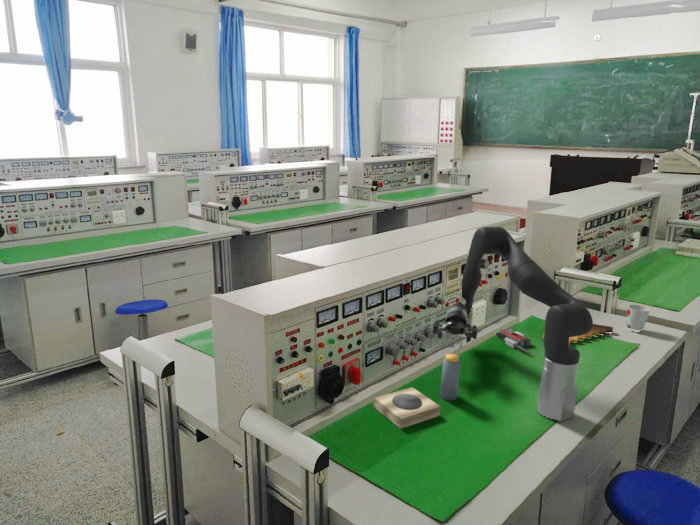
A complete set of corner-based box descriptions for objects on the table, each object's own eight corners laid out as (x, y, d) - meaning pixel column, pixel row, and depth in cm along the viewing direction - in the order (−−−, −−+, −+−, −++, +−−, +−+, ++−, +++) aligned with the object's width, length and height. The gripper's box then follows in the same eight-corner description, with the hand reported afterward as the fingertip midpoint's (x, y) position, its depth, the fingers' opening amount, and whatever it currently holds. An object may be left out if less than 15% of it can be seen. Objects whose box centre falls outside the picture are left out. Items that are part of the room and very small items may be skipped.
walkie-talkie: (491, 337, 214) (527, 357, 197) (492, 327, 213) (529, 346, 196) (508, 334, 218) (545, 353, 201) (509, 324, 217) (547, 342, 199)
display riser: (439, 415, 155) (440, 405, 154) (400, 428, 147) (401, 417, 147) (411, 395, 165) (412, 386, 164) (373, 407, 158) (374, 396, 157)
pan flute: (611, 333, 224) (547, 322, 234) (612, 325, 223) (548, 315, 233) (612, 355, 202) (542, 342, 212) (614, 347, 201) (543, 334, 211)
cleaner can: (460, 398, 165) (464, 358, 162) (447, 402, 162) (451, 361, 159) (449, 390, 169) (452, 351, 166) (436, 394, 167) (439, 354, 163)
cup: (625, 325, 232) (629, 303, 229) (646, 330, 227) (651, 307, 225) (622, 330, 226) (626, 308, 223) (643, 335, 221) (648, 312, 219)
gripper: (436, 307, 189) (432, 324, 173) (478, 312, 186) (478, 330, 170) (434, 327, 191) (430, 345, 175) (476, 332, 188) (475, 352, 172)
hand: (454, 338), depth 173 cm, fingers open, 8 cm apart
